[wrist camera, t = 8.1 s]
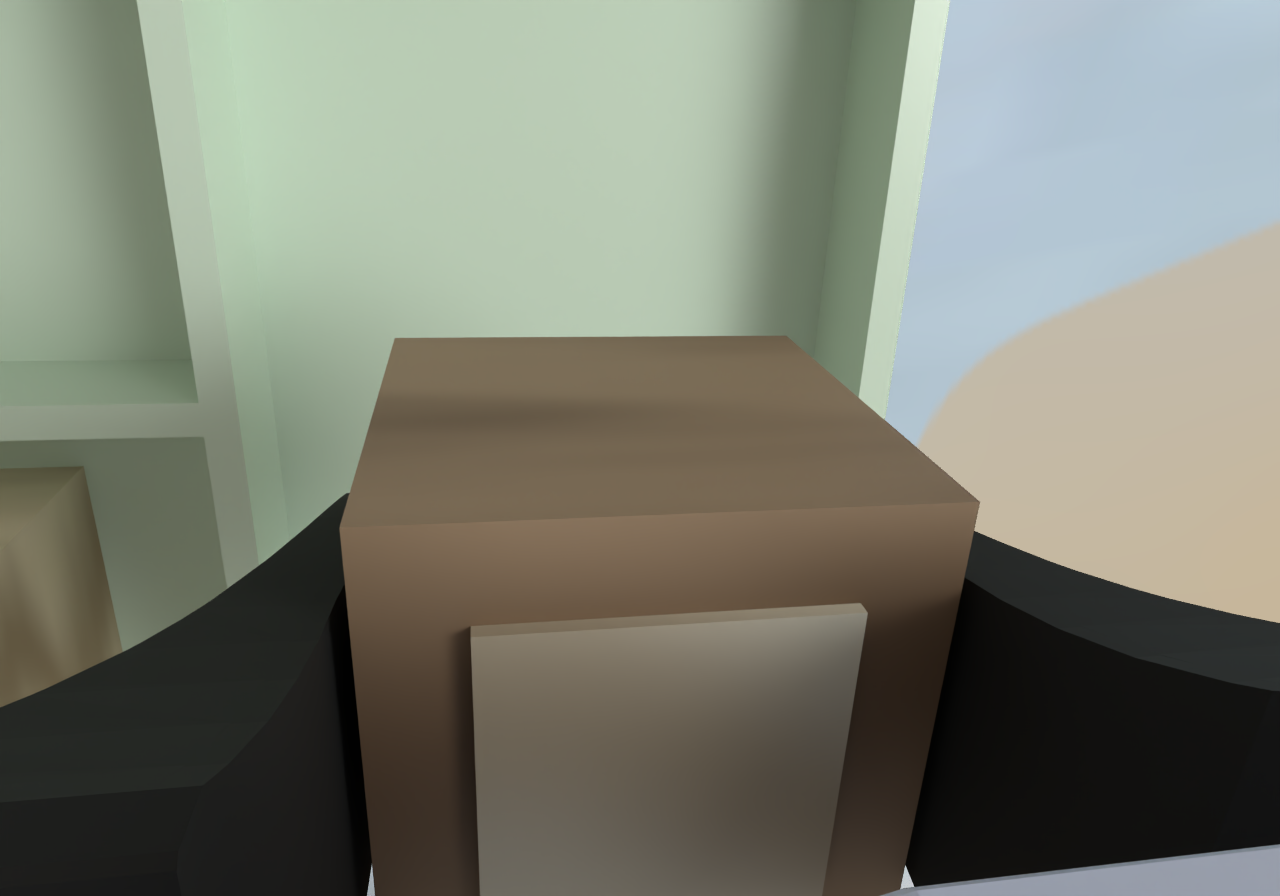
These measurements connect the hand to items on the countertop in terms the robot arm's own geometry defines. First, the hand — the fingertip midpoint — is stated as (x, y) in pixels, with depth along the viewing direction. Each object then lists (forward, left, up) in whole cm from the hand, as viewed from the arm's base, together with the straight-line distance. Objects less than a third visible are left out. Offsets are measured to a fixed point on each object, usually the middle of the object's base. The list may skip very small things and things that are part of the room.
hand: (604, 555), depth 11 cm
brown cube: (0, 0, -1) cm, 1 cm away
